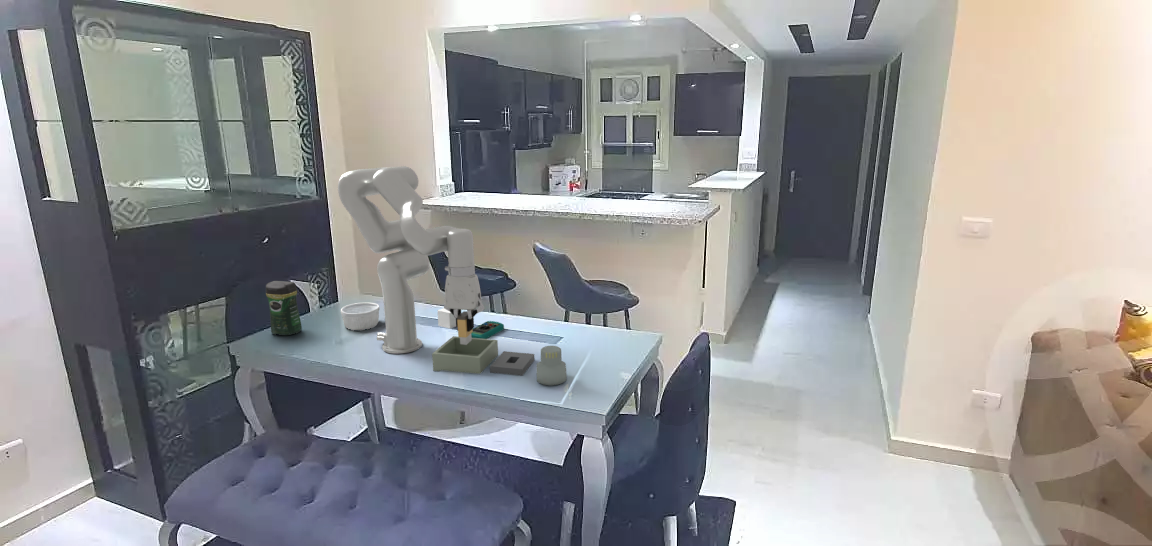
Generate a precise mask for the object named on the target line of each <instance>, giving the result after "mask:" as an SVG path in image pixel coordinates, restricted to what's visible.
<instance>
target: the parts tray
mask: <svg viewBox="0 0 1152 546" xmlns="http://www.w3.org/2000/svg"><path fill="white" fill-rule="evenodd" d="M498 341H499V340H498V339H491V338H490V339H489V338H487V339H480V338H472V340H471V341H470V342H469V343H468V344H467V345H463V344H460V337H458V336H455V335H453V336H452V337H450V338H449V339H448V340H447V341H446V342H444V343H443V344H442V345H440V346H439V347H438V348H437V349H436V350H434V351H433V352H432V353H431V356H432V357H431V358H432V371H435V372H440V371H445V372H446V371H447V372H456V373H457V372H458V373H466V374H468V373H469V374H477V375H478V374H479V375H481V374H482V373H483V371H484V370H485V369H487V367H489V366H490V365H491V364H492V363H493V362H494V361H495V360H496V359H497V358H498V357H499V346H498V345H499V343H498Z"/></svg>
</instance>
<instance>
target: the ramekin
mask: <svg viewBox="0 0 1152 546" xmlns="http://www.w3.org/2000/svg"><path fill="white" fill-rule="evenodd" d="M340 314H341V317H342V321H343V325H344V327H345V328H346V329H347V328H348V329H347V330H349V329H351V330H350V331H354V330H360V331H366V330H365V329H367V330H369V329H370V328H371V329H373V328H375V327H376V326H377V325H378V324H379V317H380V305H379V304H378V303H375V302H356V303H350V304H347V305H344V306H342V308H341V309H340Z"/></svg>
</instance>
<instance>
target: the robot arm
mask: <svg viewBox="0 0 1152 546" xmlns="http://www.w3.org/2000/svg"><path fill="white" fill-rule="evenodd" d="M418 186H419V178H418V175H417V173H416V171H415V170H414V169H413V168H411V167H409V166H406V165H405V166H404V165H401V166H394V167H393V166H388V167H387V166H386V167H374V168H362V169H361V168H360V169H354V170H350V171H349V170H348V171H347V172H345V173H343V174H342V175H341V176H340V178H339V180H338V183H337V192H338V193H337V194H338V197H339V199H340V202H341V204H342V205H343V207H344V208H345V210H346V211H347V212H348V214H349V215H350V216H351V218H352V219H353V221H354V222H355V224H356V226H357V228H358V229H359V232H360V234H361V236H362V237H363V239H364V240H365V242H366V244H367V246H368V248H369V249H370V250H371V251H372V252H373V253H375V254H385V253H388V252H389V253H388V254H387V255H384V256H382V258H380V260H379V261H378V263H377V265H376V266H377V267H376V268H377V269H376V270H377V276H378V278H379V282H380V286H381V291H382V292H381V293H382V300H383V301H382V302H383V308H384V309H383V311H384V321H385V332H377V334H376V341H382V342H383V344H382V350H383V351H384V352H385V353H388V354H398V355H399V354H407V353H412V352H415V351H418V350H419V349H420V348H421V347H422V346H423V341H422V340H421V339H420V338H418V336H417V335H418V334H417V322H416V321H417V320H416V308H415V296H414V295H415V294H414V291H413V289H412V287H411V286H410V285H409V283H408V281H410V280H412V279H415V278H419V277H421V276H425V274H427V272H428V271H429V269H430V260H429V256H432V255H436V254H439V253H444V252H447V256H448V257H447V260H448V264H447V266H444V270H445V272H447V275H446V277H445V283H444V284H445V286H444V305H443V308H444V309H446V310H448V311H450V312H451V313H452V314H453V315H454V318H456V328H457V329H456V330H457V331H458V322H457V316H458V315H460V314H461V313H462V310H464V311H467V313H468V319H467V331H468V332H470V331H471V330H472V329H473V328H475V318H474V317H475V316H476V315H477V314H479V313H481V312H484V310H485V306H484V304H483V302H482V292H481V288H480V287H481V286H480V281H479V277H478V274H476V269H475V267H476V265H475V250H474V248H475V247H474V235H473V232H472V230H471V229H468V228H458V227H455V226H451V225H442V226H441V225H440V226H437V227H432V228H427V229H425V228H424V227H423V226H422V225H421V224H420V223H419V221H418V220H417V219H416V217H415V216H416V215H417V214H418V213H419V212H420V210H421V209H422V207H423V204H424V203H423V202H424V201H423V198H422V196H421V195H420V194H419V193H417V191H416V189H417V188H418ZM376 195H380V196H381V197H382V198H383V199H384V200H385V201H386V203H388V204H389V206H390V207H392V209H393V210H394V211H395V212H396V213H397V214H398V215H399V219H397V220H390V221H388V220H386V218H385V217H384V215H383V214H382V212H381V210H380V208H379V207H378V206H377V205H376V204H375V203H373V202H372V201H371V200H369V199H368V198H367V197H369V196H376ZM394 251H396V252H394ZM391 252H392V253H391Z"/></svg>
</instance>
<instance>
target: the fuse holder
mask: <svg viewBox="0 0 1152 546" xmlns="http://www.w3.org/2000/svg"><path fill="white" fill-rule="evenodd" d="M535 360H536V359H535V353H529V352H528V353H525V352H516V351H502V353H500V355H498V356H497V357H496V358H495V359H494V360H493V361H492V362H491V363H490V365H489V371H490V374H491V373H493V374H501V375H511V376H524V375H525V373H526V372H527V371H528V369H529V368H530V367H531V365H532V364H533V363H534V362H535Z"/></svg>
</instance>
